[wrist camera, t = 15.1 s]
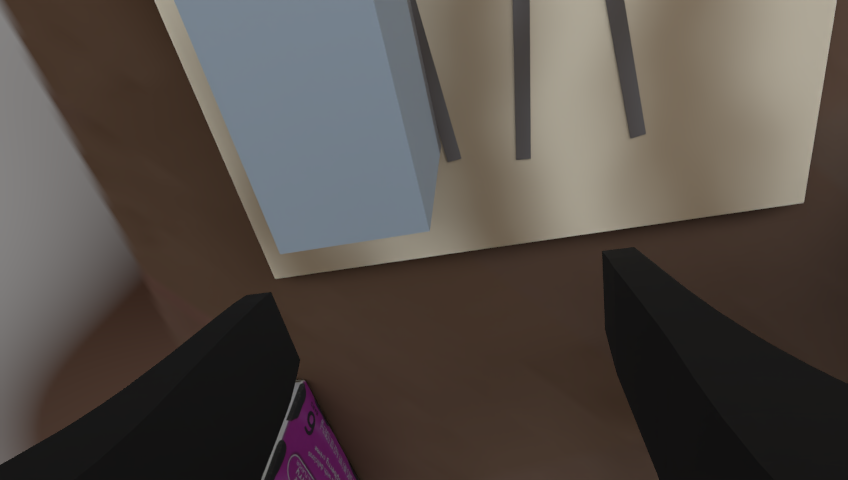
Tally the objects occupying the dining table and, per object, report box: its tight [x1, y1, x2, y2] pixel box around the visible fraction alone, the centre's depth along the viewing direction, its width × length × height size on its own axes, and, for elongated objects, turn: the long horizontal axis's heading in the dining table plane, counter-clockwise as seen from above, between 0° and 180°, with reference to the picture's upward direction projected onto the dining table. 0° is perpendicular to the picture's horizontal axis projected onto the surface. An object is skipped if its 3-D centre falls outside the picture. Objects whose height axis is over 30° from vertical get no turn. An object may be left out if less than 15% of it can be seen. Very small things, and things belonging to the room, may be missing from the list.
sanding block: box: [174, 0, 441, 254], centre depth 14 cm, size 4×8×6 cm, turn 13°
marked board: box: [154, 0, 837, 279], centre depth 17 cm, size 20×14×1 cm
